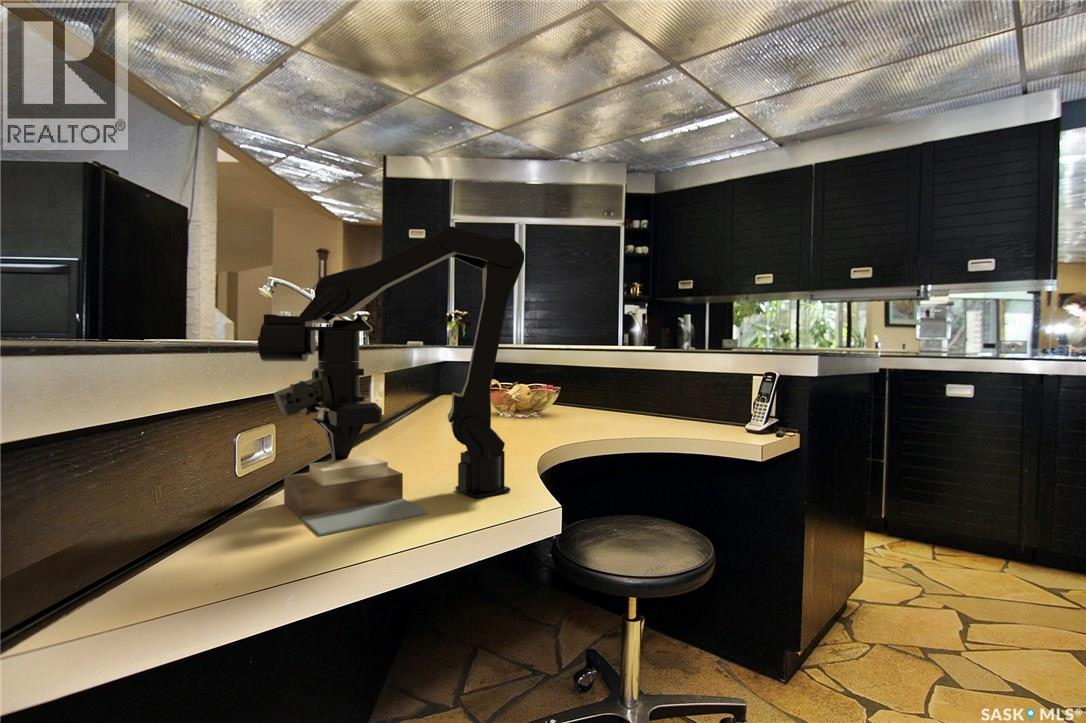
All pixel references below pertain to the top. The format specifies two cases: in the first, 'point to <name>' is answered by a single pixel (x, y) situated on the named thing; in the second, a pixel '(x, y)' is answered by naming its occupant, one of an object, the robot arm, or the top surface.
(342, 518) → the mat
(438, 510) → the top surface
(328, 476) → the pale maple block
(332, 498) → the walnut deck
